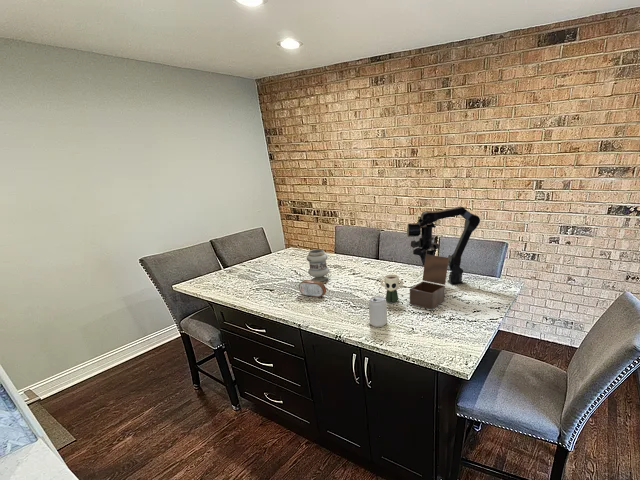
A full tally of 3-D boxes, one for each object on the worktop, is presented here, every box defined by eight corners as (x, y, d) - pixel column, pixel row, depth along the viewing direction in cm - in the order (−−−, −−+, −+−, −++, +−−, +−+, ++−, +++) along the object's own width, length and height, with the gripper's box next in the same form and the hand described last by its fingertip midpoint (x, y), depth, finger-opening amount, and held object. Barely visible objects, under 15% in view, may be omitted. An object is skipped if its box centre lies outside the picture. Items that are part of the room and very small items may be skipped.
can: (369, 320, 149) (368, 295, 145) (386, 319, 150) (385, 294, 145) (369, 328, 142) (368, 302, 138) (387, 327, 143) (386, 301, 138)
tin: (327, 296, 176) (325, 281, 173) (324, 298, 173) (322, 283, 170) (302, 293, 181) (300, 278, 177) (299, 295, 178) (297, 280, 175)
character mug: (380, 303, 166) (379, 278, 161) (382, 297, 173) (381, 273, 168) (402, 304, 165) (401, 279, 160) (403, 298, 172) (403, 274, 167)
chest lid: (448, 257, 162) (449, 257, 163) (425, 254, 169) (426, 254, 170) (444, 284, 165) (445, 284, 166) (422, 280, 172) (423, 280, 172)
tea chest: (432, 309, 159) (432, 293, 156) (409, 303, 166) (409, 288, 163) (444, 300, 169) (444, 285, 166) (422, 295, 175) (422, 281, 172)
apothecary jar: (305, 282, 197) (301, 252, 190) (317, 276, 207) (313, 247, 200) (322, 284, 192) (319, 254, 185) (334, 278, 203) (331, 249, 196)
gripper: (422, 231, 191) (422, 258, 197) (404, 237, 176) (404, 266, 183) (439, 233, 185) (439, 260, 191) (422, 240, 171) (422, 269, 177)
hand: (426, 264), depth 186 cm, fingers open, 5 cm apart
